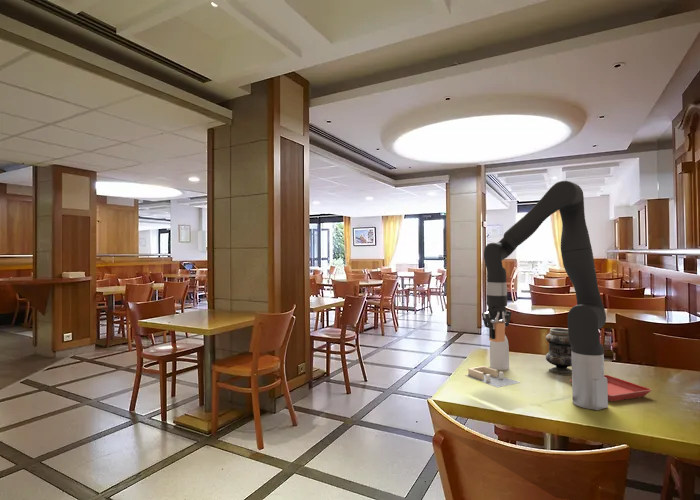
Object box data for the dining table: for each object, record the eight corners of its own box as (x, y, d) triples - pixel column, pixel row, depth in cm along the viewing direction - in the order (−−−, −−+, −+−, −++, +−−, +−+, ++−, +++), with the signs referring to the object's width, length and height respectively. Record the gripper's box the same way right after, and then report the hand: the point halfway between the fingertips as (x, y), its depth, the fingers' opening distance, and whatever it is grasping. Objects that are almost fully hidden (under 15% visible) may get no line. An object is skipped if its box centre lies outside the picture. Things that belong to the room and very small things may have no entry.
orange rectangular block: (504, 341, 153) (504, 323, 153) (497, 342, 151) (497, 323, 151) (496, 339, 156) (496, 321, 156) (489, 340, 155) (489, 322, 155)
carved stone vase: (584, 376, 161) (583, 332, 162) (554, 376, 162) (553, 332, 162) (568, 368, 173) (567, 326, 174) (540, 368, 174) (539, 327, 174)
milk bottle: (512, 372, 168) (511, 325, 168) (493, 372, 168) (492, 325, 169) (505, 367, 176) (504, 322, 176) (487, 367, 176) (486, 322, 176)
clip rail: (520, 385, 151) (520, 375, 152) (497, 390, 146) (497, 380, 146) (486, 373, 167) (486, 365, 167) (465, 377, 161) (464, 369, 161)
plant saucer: (611, 405, 131) (611, 395, 131) (568, 387, 149) (568, 379, 149) (653, 399, 136) (652, 389, 136) (606, 383, 154) (606, 374, 154)
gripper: (490, 295, 147) (490, 341, 147) (517, 293, 154) (517, 338, 154) (475, 293, 154) (476, 338, 154) (502, 292, 160) (502, 334, 160)
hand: (497, 337), depth 154 cm, fingers closed on orange rectangular block, 4 cm apart
